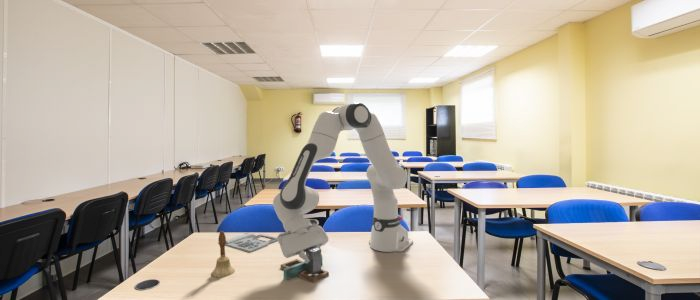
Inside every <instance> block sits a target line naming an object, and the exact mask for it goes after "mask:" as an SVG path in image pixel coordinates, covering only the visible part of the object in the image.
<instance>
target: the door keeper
mask: <svg viewBox="0 0 700 300" xmlns="http://www.w3.org/2000/svg"><path fill="white" fill-rule="evenodd" d="M321 266H323V256H322V257H321ZM280 268H281V269H282V270H283V279H284V280H290V279H291V278H294V277H296V276H298V277H300V278H302V279H303V280H305V281H308V282H311V283H315V282H317V281H319V280H321V279H323V278H326V277H328V276H329V275H330V272H329V271H327V270H325V269H323V268H321V272H319V273H318V275H317V274H316V275H314V276H311V275H308V274H309V273H307V272H306V262H305V260H303V261H302V260H301V259H298V258H295V259H293V260H289V261H287V262H285V263H284V262H283V263H282V264H280Z"/></svg>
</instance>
